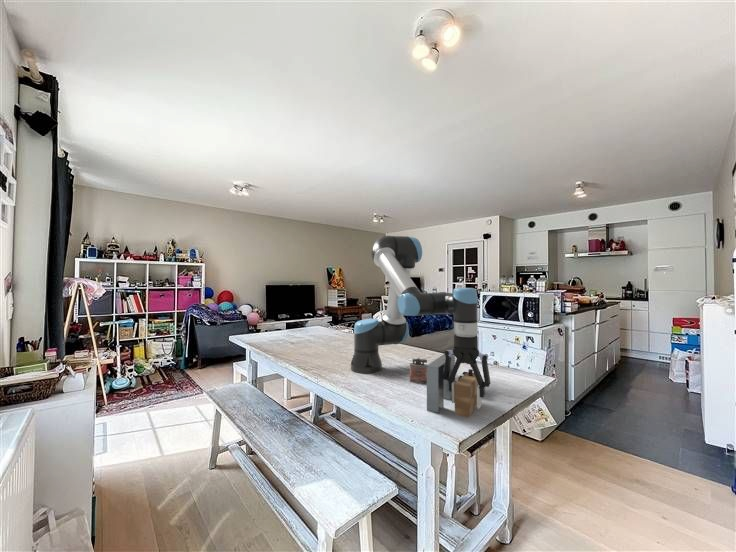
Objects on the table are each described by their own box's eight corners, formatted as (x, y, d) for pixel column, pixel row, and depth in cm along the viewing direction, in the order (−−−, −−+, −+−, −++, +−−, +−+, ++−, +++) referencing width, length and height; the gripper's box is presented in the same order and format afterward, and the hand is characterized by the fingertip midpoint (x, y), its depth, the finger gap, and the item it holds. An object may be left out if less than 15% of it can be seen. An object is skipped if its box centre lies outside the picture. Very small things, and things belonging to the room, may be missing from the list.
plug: (465, 400, 112) (465, 367, 112) (478, 403, 109) (478, 369, 109) (454, 414, 101) (454, 377, 101) (468, 417, 98) (468, 380, 98)
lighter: (408, 382, 131) (408, 358, 130) (410, 379, 134) (410, 356, 134) (427, 384, 128) (427, 360, 127) (429, 382, 131) (429, 358, 131)
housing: (425, 410, 104) (425, 365, 104) (443, 392, 119) (443, 353, 119) (438, 413, 101) (438, 367, 101) (454, 395, 116) (454, 355, 116)
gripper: (432, 333, 105) (433, 401, 105) (496, 339, 94) (497, 415, 94) (439, 330, 111) (440, 394, 111) (500, 335, 100) (501, 406, 100)
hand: (466, 403), depth 102 cm, fingers open, 7 cm apart
